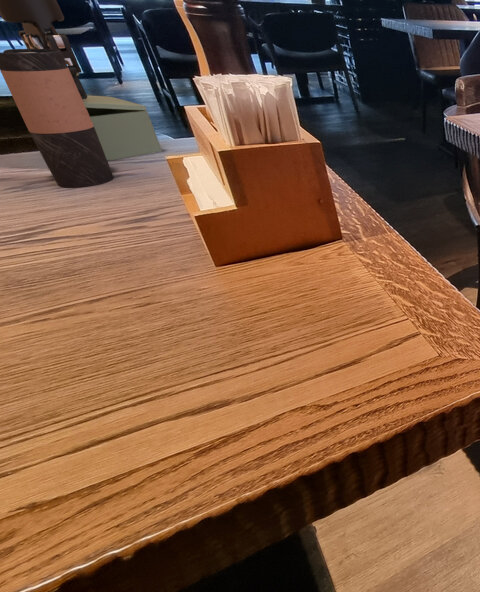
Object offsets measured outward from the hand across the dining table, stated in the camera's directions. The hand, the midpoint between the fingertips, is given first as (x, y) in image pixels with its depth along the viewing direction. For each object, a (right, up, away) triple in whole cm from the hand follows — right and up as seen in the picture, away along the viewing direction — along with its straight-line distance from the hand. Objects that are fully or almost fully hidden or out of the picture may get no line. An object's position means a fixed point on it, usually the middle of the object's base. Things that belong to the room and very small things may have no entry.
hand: (72, 96), depth 93 cm
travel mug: (+8, -16, -5) cm, 19 cm away
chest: (+1, -9, +7) cm, 11 cm away
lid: (+1, -1, +2) cm, 2 cm away
